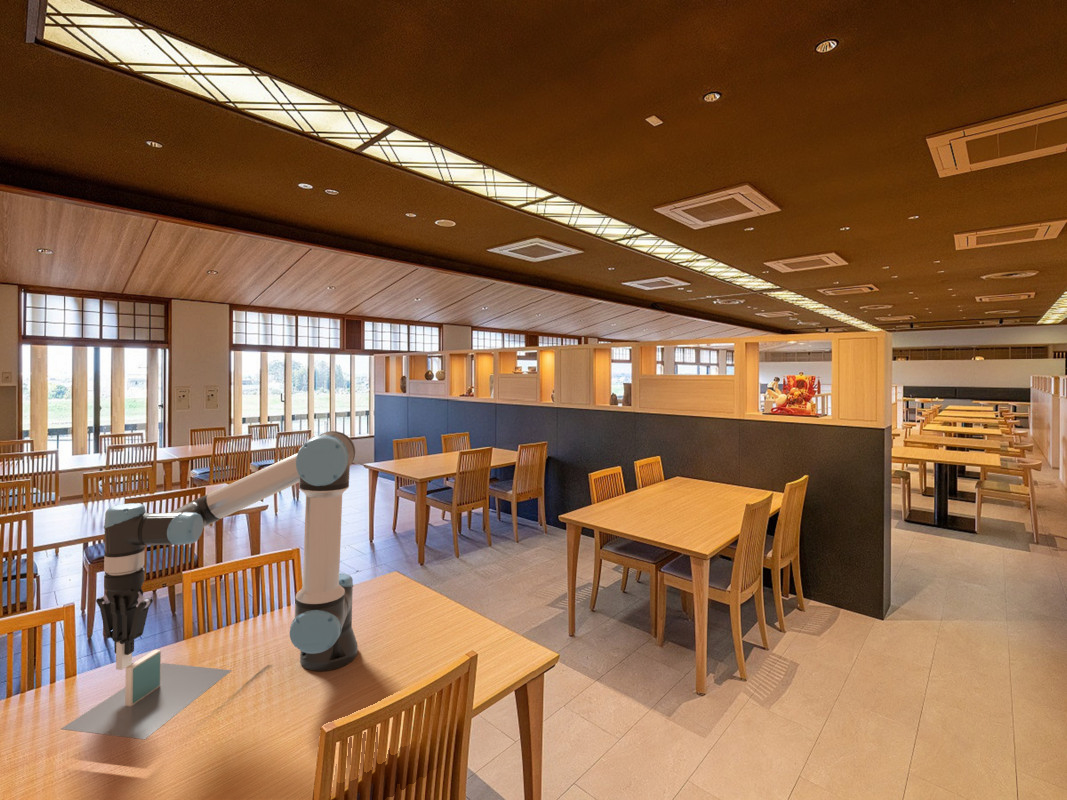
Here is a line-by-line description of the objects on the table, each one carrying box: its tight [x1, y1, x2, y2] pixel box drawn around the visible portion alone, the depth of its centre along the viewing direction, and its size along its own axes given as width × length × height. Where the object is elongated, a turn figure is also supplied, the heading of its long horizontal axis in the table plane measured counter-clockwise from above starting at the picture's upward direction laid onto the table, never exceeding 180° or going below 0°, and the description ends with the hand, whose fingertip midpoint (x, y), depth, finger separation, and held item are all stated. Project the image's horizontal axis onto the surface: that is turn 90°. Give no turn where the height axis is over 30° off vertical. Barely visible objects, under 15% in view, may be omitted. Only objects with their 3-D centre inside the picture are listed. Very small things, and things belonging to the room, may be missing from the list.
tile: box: [124, 649, 162, 706], centre depth 121 cm, size 2×8×9 cm, turn 174°
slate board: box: [60, 662, 233, 740], centre depth 120 cm, size 20×26×1 cm
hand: (124, 666), depth 121 cm, fingers closed
